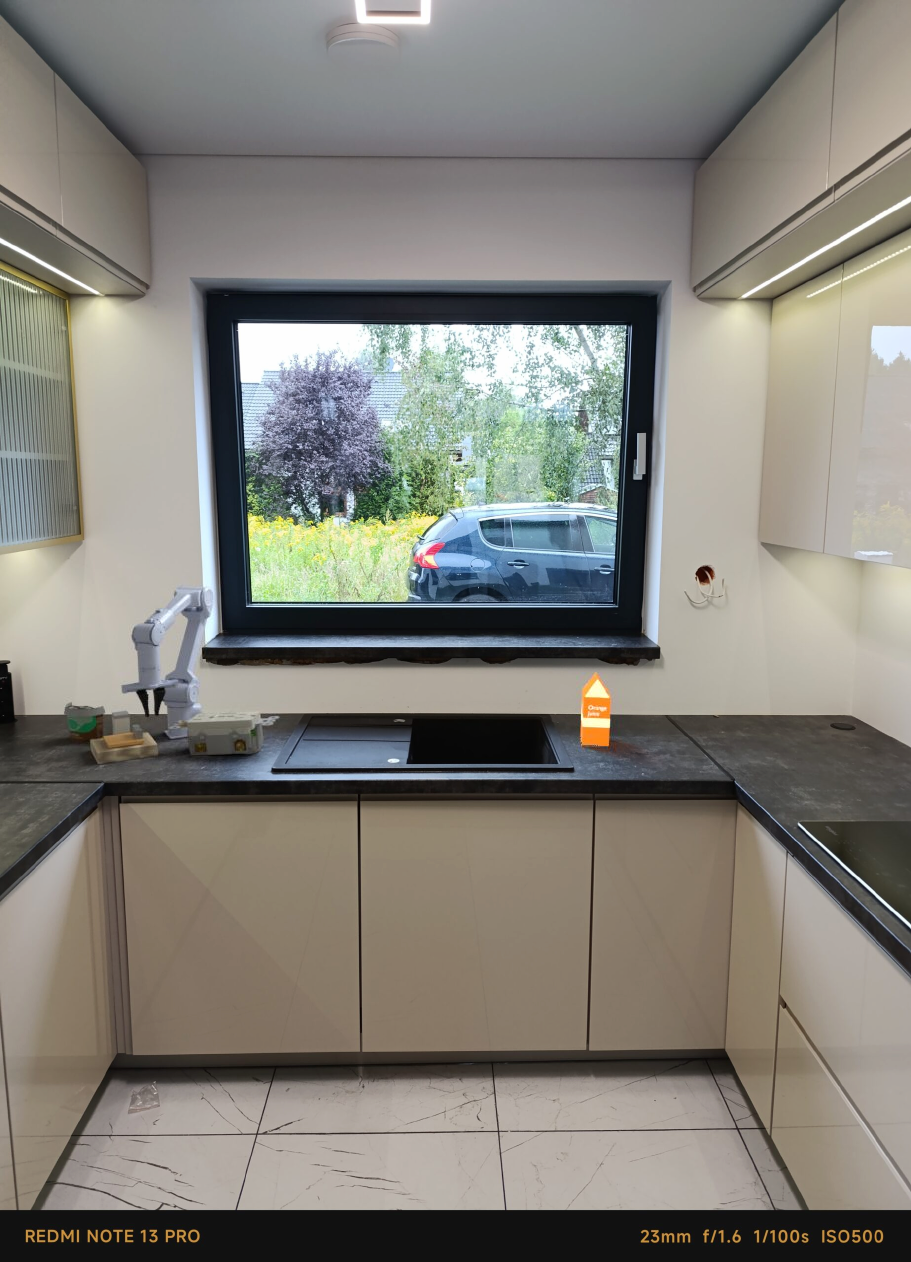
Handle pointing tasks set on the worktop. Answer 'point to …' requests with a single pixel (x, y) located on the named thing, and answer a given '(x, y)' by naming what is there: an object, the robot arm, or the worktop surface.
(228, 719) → the electrical outlet
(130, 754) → the socket block
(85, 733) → the food container
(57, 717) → the worktop surface
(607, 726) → the orange juice
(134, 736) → the shutter
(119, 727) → the grey upright block
